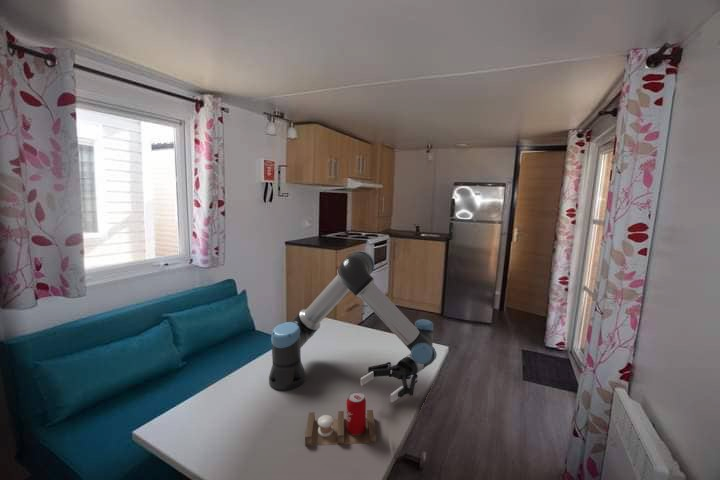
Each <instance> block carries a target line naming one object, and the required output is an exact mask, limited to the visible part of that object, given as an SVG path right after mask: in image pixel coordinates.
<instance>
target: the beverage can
mask: <svg viewBox="0 0 720 480" xmlns="http://www.w3.org/2000/svg"><path fill="white" fill-rule="evenodd" d="M366 402H367V401H366V398H365V395H364V393H363V392H361V391H352V392H350V393H349V394H348V395H347V398H346V419H347V431H348V432H349V433H350V434H352V435H360V434H362V433H363V432H364V431H365V429H366V418H367V408H366V407H367V405H366Z"/></svg>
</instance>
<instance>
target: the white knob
mask: <svg viewBox="0 0 720 480" xmlns="http://www.w3.org/2000/svg"><path fill="white" fill-rule="evenodd" d="M333 419H334V418H333V417H332V416H331V415H328V414H323V415H321V416H320V417H318V419H317V420H318V426H319V428H318V434H319V436H321V437H329V436H331V435H332V434H333V426H332V425H333Z"/></svg>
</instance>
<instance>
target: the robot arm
mask: <svg viewBox="0 0 720 480" xmlns="http://www.w3.org/2000/svg"><path fill="white" fill-rule="evenodd" d="M374 269H375V260H374V257H373V256H372V255H371V254H370V253H369V252H367V251H365V250H356V251H354V252H352V253H351V254H350V255H348V256H347V257H345V258H343V260H342V261H341V263H340V265H339V267H338V268H337V271H336V272H337V275H336V276H335V277H334V278H333V279H332V280H331V281H330V282H329V284H328V285H327V286H325V288H324V289H323V290H322V291H321V292H320V293H319V295H318V296H317V297H316V298H314V300H313V301H312V302H311V303H310V305H309V306H308V307H307V308H306V309H305V308H303V309H300V310H299V312H298V313H297V314H296V315H295V316H294V317H293V318H292V319H291V320H290V321H288V322H287V321H286V322H282V323H279V324H277V325H276V326H274V328H273V329H272V331H271V337H270V342H271V359H272V366H271V368H270V371H269V375H268V383H269V386H270V387H271V388H272V389H274V390H278V391H288V390H293V389H296V388H299V387H300V386H301V385H303V384H304V382H305V381H306V370H305V368H304V365H303V363H302V360H301V357H302V356H301V355H302V354H301V348H303V346H304V345H305V344H306V343H307V342H308V340H310V339H311V338H313V336H314V335H315V334H316V332H317V331H318V330H319V329H320V327H321V322H323V320H324V319H325V317H326V316H328V315H329V313H330V312H331V311H333V309H334V308H335V307H336V306H337V305H338V304H339V303H340V302H341V300H342V299H343V298H344V297H345V296H346V295H347V294H348V293H349V292H351V293H352V294H353V295H354V297H356V298H357V297H359V298H360V299H361V300H362V301H363V302H364V303H365V304H366V305H367V306H368V307H369V309H371V310H372V312H374V313H375V314H376V316H377V317H378V318H379V319H380V320H381V321H382V322H383V324H385V326H386V327H387V328H388V329H390V331H391V332H392V333H393V334H394V335H395V336H396V337H397V339H399V340H400V341H401V343H403V345H404V346H405V347H406V348H407V349H408V350H409V351H410V353H409V354H407V355H406V356H404V357H403V358H402V359H400V360H399V361H398V362H397V364H395V365H392V363H391V361H388V362H386V363H383V364H382V363H381V364H378V365H373V366H368V368H367V371H368V372H367V373H365V374H364V375H363V376H362V377H360V381H359V382H360V386H361V387H362V386H364V385H366V384H367V383H369V382H371V381H372V380H374V378H375V377H376V378H378V377H389V378H392V377H393V378H394V379H397V380H399V381H401V383H402V385H401V386H399V387H398V388H397V389H395V390H394V391H393V392H392V393H390V394H389V395H390V396H389V397H390V398H389V399H390V400H389V401H390V403H394V402H395V401H397V399H399V398H402V397H404V396H405V395H409V396H411V397H412V396H414V391H415V387H416V383H417V382H418V376H419V375H418V373H420V372H422V371H423V370H424V369H425V368H426V367H428V366H430V365H432V364H433V362H434V361H435V360H436V359H437V356H438V354H437V351H436V348H435V347H434V346H433V345H434V343H433V340H434V323H433V322H432V321H431V320H429V319H423V318H422V319H417V320H416V321H415V322H414V324H413V323H412V321H411V320H410V319H408V317H407V316H406V315H405V314H404V313H403V312H402V310H400V309H399V308H398V306H396V305H395V303H394V302H392V301H391V300H390V299H389V297H388V296H387V295H386V294H385V293H384V292H383V291H382V290H381V289H380V288H379V287H378V285H376V284H375V279H374V278H373V276H371V274H372V273H373V271H374ZM408 380H410V386H409V385H408Z"/></svg>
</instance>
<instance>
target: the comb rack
mask: <svg viewBox="0 0 720 480" xmlns="http://www.w3.org/2000/svg"><path fill="white" fill-rule="evenodd" d="M315 415H316V412H315V411H310V412H308V415H307V422H306V429H305V436H304V446H305V447H308V446H310V447H311V446H327V445H328V446H329V445H330V446H332V445H333V446H334V445H350V444H376V443H377V431H376V429H377V428H376V424H375V417H374V410H373V409H368V410H367V409H366V429H365V431H364V432H363V433H362V434H360V435H352V434H350V433H349V432H348V431H347V418H345V411H344V410H339V411H337V418H336V419H334V418H333V425H332V426H333V434H332V435H331V436H329V437H321V436H319V434H318V428H319V426H318V419H316V416H315Z"/></svg>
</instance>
